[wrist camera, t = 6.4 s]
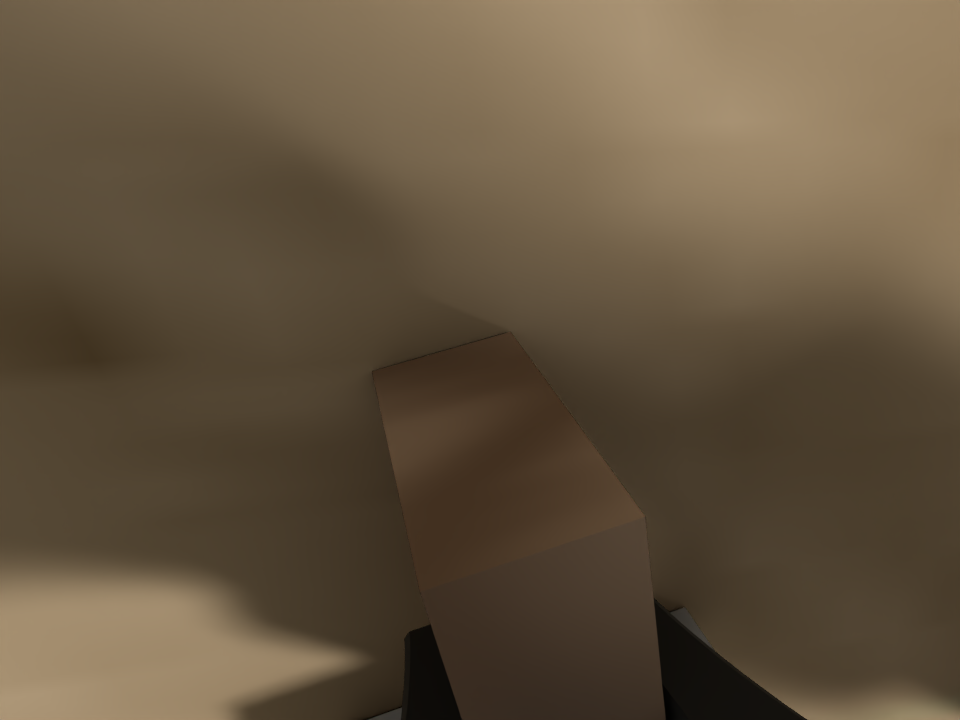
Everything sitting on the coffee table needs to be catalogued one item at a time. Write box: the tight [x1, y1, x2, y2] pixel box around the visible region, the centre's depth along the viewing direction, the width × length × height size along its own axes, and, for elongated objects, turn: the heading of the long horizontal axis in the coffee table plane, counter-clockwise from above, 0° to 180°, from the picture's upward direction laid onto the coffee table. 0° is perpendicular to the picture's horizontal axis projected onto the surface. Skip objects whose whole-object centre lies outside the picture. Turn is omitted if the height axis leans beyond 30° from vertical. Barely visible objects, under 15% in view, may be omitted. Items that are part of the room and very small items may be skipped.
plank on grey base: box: [368, 332, 715, 720], centre depth 11 cm, size 8×9×5 cm
